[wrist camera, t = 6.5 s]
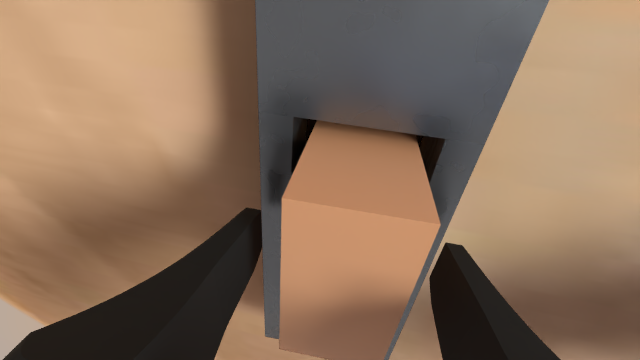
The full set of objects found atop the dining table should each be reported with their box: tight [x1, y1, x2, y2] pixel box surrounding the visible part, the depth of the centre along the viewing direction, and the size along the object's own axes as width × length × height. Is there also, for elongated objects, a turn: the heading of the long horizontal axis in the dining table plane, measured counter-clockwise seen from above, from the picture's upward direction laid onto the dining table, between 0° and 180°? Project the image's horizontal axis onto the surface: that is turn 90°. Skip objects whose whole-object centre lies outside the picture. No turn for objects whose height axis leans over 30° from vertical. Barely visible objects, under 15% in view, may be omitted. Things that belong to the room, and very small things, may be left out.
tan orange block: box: [279, 120, 441, 360], centre depth 12 cm, size 8×4×7 cm, turn 175°
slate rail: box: [255, 0, 549, 360], centre depth 14 cm, size 22×8×3 cm, turn 175°
